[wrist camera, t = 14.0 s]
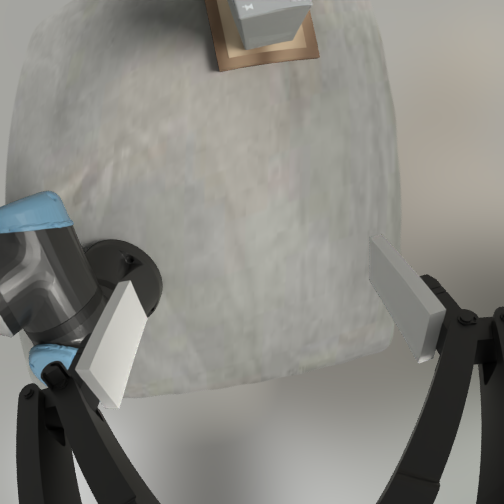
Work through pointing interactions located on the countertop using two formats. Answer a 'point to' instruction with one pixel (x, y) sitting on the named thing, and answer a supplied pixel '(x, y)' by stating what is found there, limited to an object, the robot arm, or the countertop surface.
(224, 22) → the tan flat square board
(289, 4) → the skincare box
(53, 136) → the countertop surface
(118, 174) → the countertop surface
